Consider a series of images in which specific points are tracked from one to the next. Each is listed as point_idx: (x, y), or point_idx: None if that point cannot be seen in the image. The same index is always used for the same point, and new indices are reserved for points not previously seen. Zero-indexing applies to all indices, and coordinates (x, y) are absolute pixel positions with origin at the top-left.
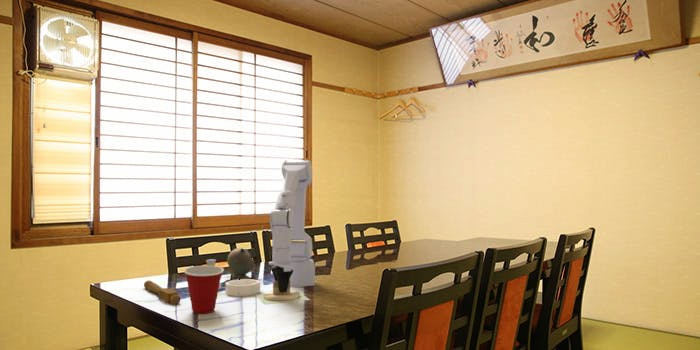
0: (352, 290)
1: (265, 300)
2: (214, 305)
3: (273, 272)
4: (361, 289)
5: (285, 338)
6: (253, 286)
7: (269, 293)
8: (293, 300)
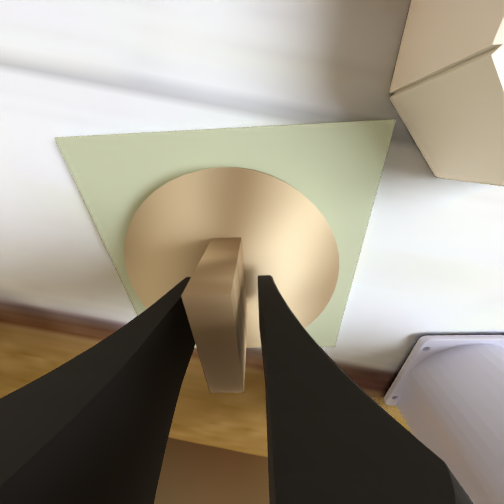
0: (265, 434)
1: (162, 166)
2: None
3: (271, 416)
4: (267, 444)
5: None
6: (468, 80)
7: (266, 219)
8: None
